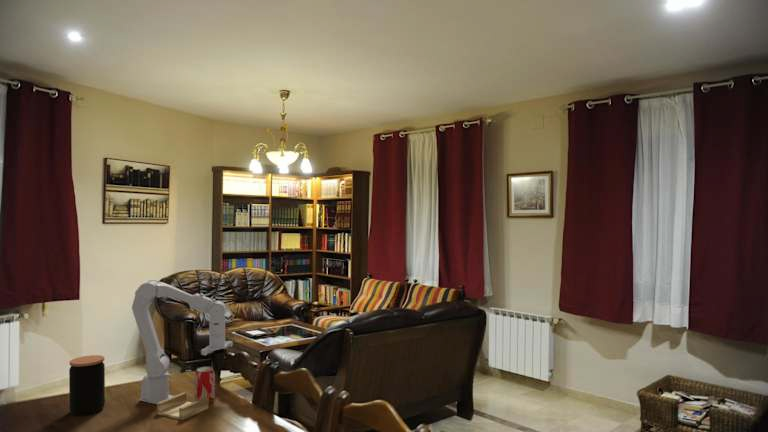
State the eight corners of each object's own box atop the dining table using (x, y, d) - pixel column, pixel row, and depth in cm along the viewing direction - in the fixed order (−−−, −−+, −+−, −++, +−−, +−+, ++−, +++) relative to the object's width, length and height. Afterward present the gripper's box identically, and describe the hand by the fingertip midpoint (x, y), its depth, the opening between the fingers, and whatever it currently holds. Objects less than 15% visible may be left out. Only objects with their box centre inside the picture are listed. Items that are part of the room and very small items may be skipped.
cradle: (156, 414, 174) (156, 403, 174) (183, 402, 185) (183, 392, 185) (182, 420, 169) (182, 408, 169) (208, 408, 180) (208, 397, 180)
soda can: (208, 405, 182) (208, 372, 182) (190, 404, 183) (190, 371, 183) (218, 398, 189) (218, 366, 189) (201, 397, 190) (201, 365, 190)
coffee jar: (111, 407, 180) (111, 357, 180) (82, 418, 171) (82, 365, 171) (91, 403, 185) (91, 353, 185) (62, 413, 175) (62, 361, 175)
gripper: (211, 339, 184) (211, 376, 184) (238, 330, 197) (238, 365, 197) (196, 337, 187) (196, 373, 187) (224, 329, 200) (224, 363, 200)
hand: (217, 369), depth 192 cm, fingers closed
